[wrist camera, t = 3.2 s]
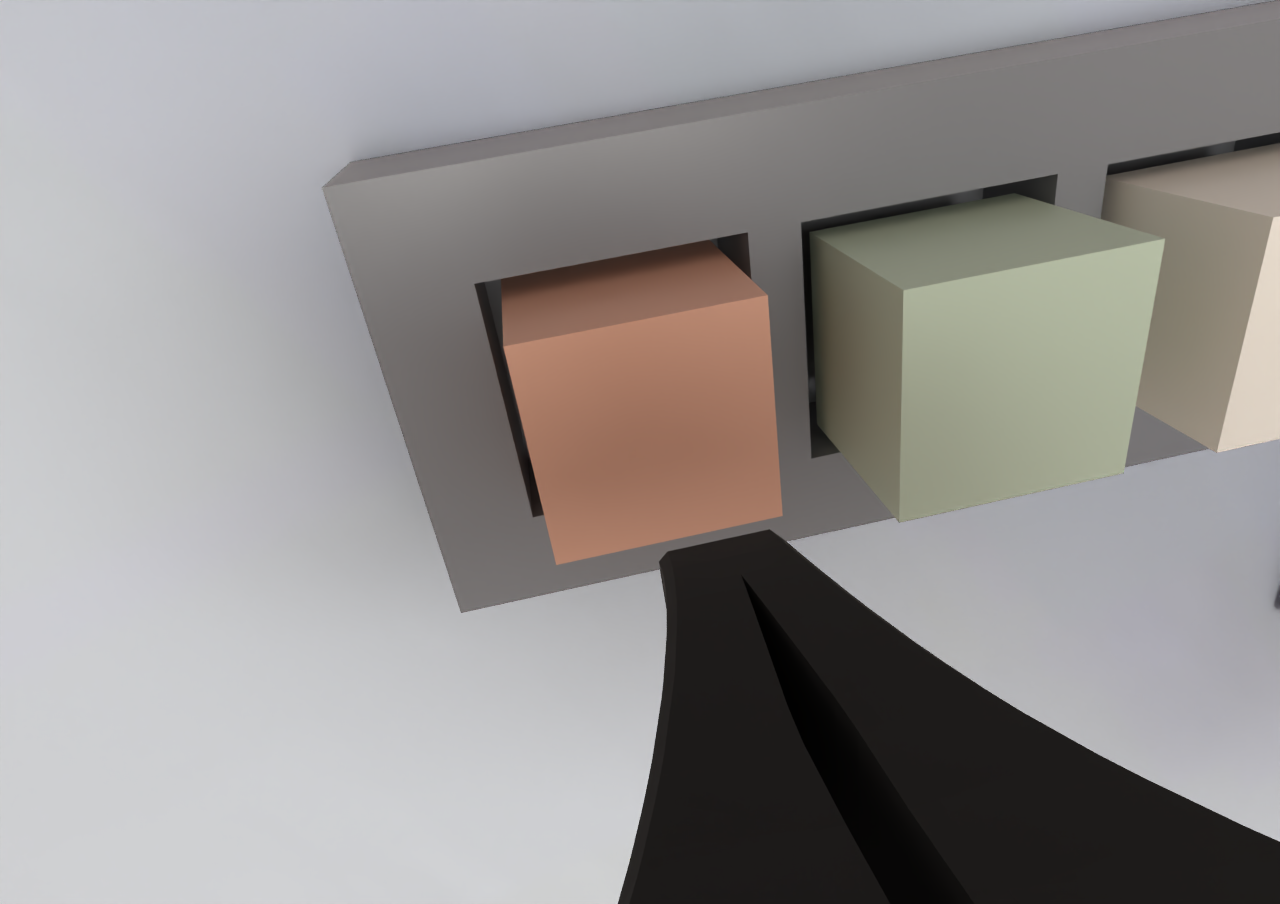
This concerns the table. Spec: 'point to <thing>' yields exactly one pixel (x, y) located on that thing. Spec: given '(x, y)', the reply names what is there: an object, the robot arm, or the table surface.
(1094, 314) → the sage key
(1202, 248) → the ivory key
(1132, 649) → the table surface
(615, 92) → the table surface
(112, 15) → the table surface
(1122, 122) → the keypad housing
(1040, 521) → the table surface
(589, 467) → the terracotta key
